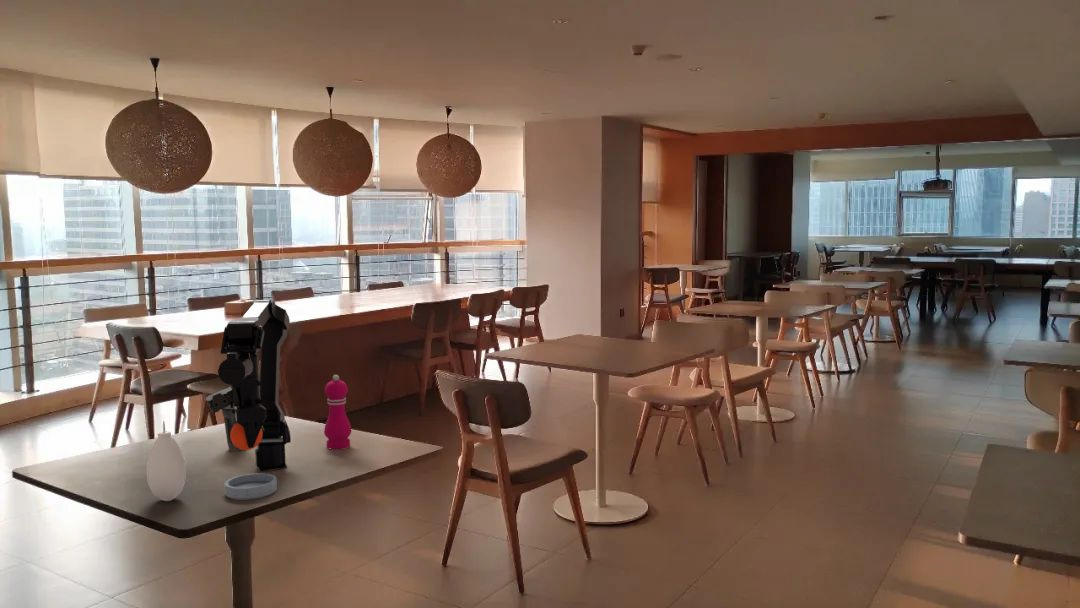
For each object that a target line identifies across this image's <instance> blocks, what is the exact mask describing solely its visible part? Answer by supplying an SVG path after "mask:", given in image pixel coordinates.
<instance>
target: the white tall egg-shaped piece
mask: <svg viewBox="0 0 1080 608" xmlns="http://www.w3.org/2000/svg"><path fill="white" fill-rule="evenodd" d="M146 462H147V463H146V480H147V484H148V487H149V489H150V491H151V493H152V494H153V496H154V497H156V498H158V499H159V500H160V501H164V502H170V501H173V500H174V499H176V498H177V497H178V495H179V494H181V493H182V491H183V489H184V487H185V484H186V480H187V479H186V478H187V464H186V460H185V456H184V454H183V450H182V449H181V446H180V444H179V443H178V442H177V441H176V439H175V438H174V437H173V436H172V432H170V431H166V424H165V420H163V421H162V431H159V432H158V433H157V437H156V439H155V441H154V442H153V444H152V446H151V448H150V450H149V453H148V456H147V461H146Z"/></svg>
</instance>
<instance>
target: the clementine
mask: <svg viewBox="0 0 1080 608" xmlns="http://www.w3.org/2000/svg"><path fill="white" fill-rule="evenodd" d="M262 428H263V426H262ZM262 428H261V429H260V432H259V434H258V437H257V440H256V442H255V445H254V447H253V448H248V445H247V441H246V437H245V433H244V429H243V426H241V425H240V424H238V423H236V424H235V425H234V426H233V428H232V430H231V433H230V437H231V441H232V443H233V444H234V446H235V447H237V448H239V449H242V450H241V451H249V450H250V451H251V450H252V449H254V448H255V449H256V447H257V445H258V444H259V443H260V442H261V439H262V435H263V432H262ZM263 430H264V429H263Z"/></svg>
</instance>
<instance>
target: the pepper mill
mask: <svg viewBox="0 0 1080 608" xmlns="http://www.w3.org/2000/svg"><path fill="white" fill-rule="evenodd" d="M346 383H347V382H345V381H343V380H341V379H340V376H339V375H338V374H333V376H332V380H330V381H329V382H327V383H326V384H325V387H324V393H325V395H326V396H327V397H328V398H327V399H326V400H327V404H328V407H329V410H328V411H329V412H328V416H327V420H326V423H325V424H324V429H323V430H324V431H323V433H324V436H325V437H326V439H327V440H326V448H327V449H328V448H331V449H330V450H332V449H339V450H344V449H343V448H345V449H348V448H350V446H351V439H350V438H349V437H350V436H351V434H352V426H351V425H352V424H351V422H350V420H349V419H348V416H347V414H346V403H347V397H346V396H347V393H348V392H349V391H348V389H349V388H348V385H347V384H346ZM347 447H348V448H347Z"/></svg>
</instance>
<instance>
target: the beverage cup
mask: <svg viewBox="0 0 1080 608" xmlns="http://www.w3.org/2000/svg"><path fill="white" fill-rule="evenodd" d="M231 409H235V407H233V408H230V406H227V407H225V408H223V409H221V413H222V416H223V423H224V427H225V428H224V429H225V434H226V442H227V447H228V451H230V452H240V451H243V450H242V449H239V448H237V447H235V446H234V444H233V443H232V441H231V437H230V433H231V430H232V428H233V426H234V425H235V424H236V423H237V422H236V420H235V419H236V417H235V414H233V413H232V411H231Z"/></svg>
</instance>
